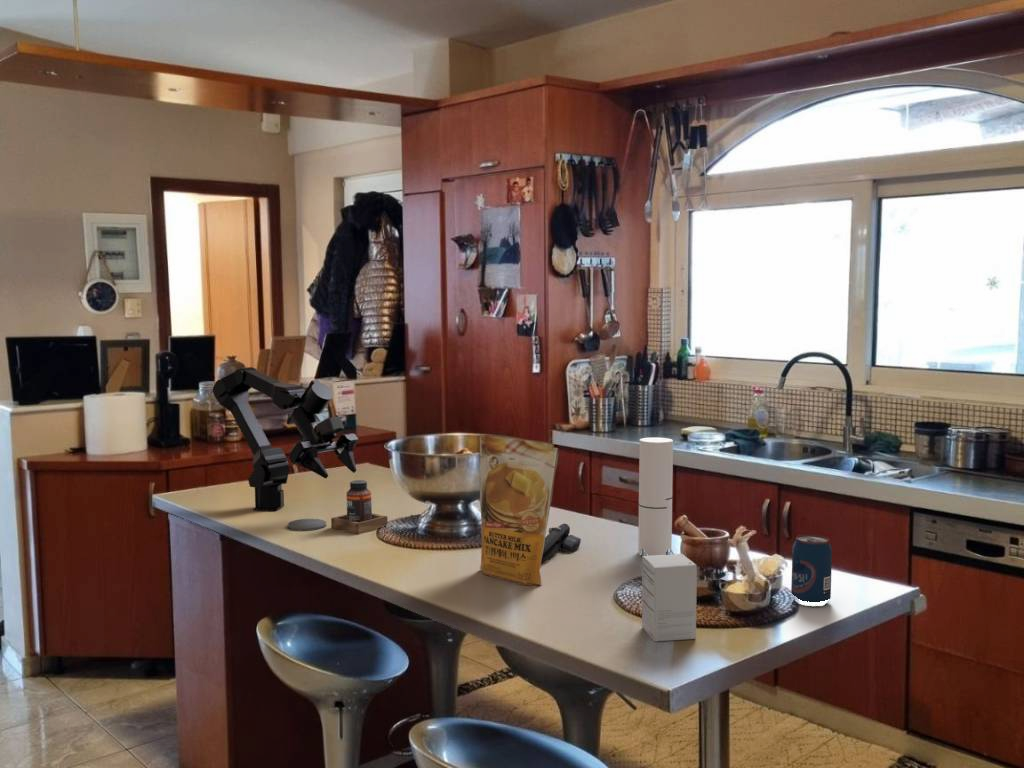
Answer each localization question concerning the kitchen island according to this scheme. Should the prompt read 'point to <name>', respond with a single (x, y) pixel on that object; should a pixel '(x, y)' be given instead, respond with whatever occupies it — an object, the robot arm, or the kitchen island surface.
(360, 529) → the pocket
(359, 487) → the supplement bottle
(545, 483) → the pancake mix bag
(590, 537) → the kitchen island surface
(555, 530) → the can opener
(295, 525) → the coaster
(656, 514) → the cylindrical container
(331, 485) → the kitchen island surface
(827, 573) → the soda can
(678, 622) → the supplement box
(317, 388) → the robot arm
